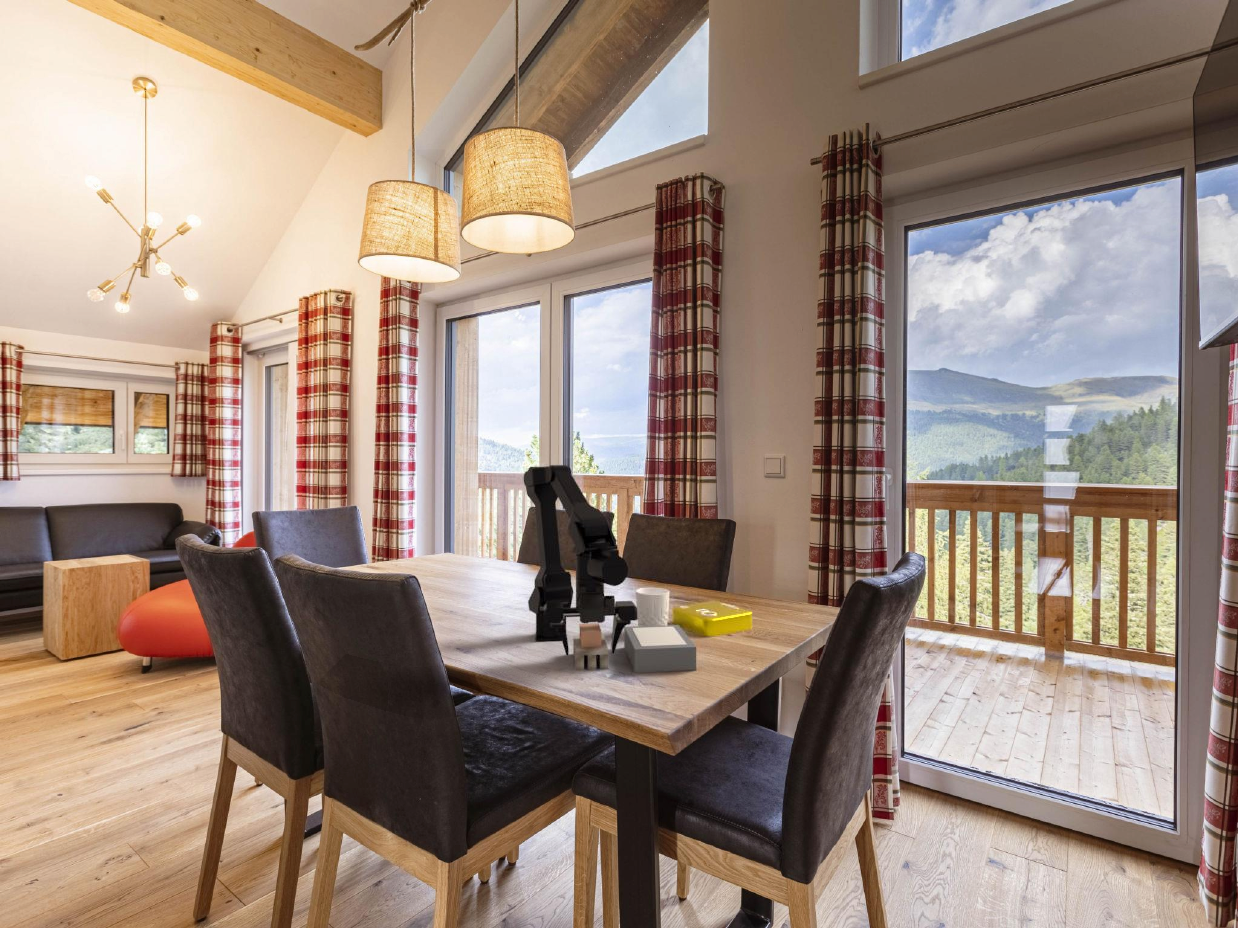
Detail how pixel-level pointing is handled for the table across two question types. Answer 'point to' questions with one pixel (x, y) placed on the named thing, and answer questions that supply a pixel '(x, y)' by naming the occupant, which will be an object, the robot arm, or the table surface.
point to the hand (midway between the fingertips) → (590, 654)
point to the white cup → (652, 606)
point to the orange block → (590, 635)
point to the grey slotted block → (590, 654)
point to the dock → (659, 648)
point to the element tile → (712, 618)
